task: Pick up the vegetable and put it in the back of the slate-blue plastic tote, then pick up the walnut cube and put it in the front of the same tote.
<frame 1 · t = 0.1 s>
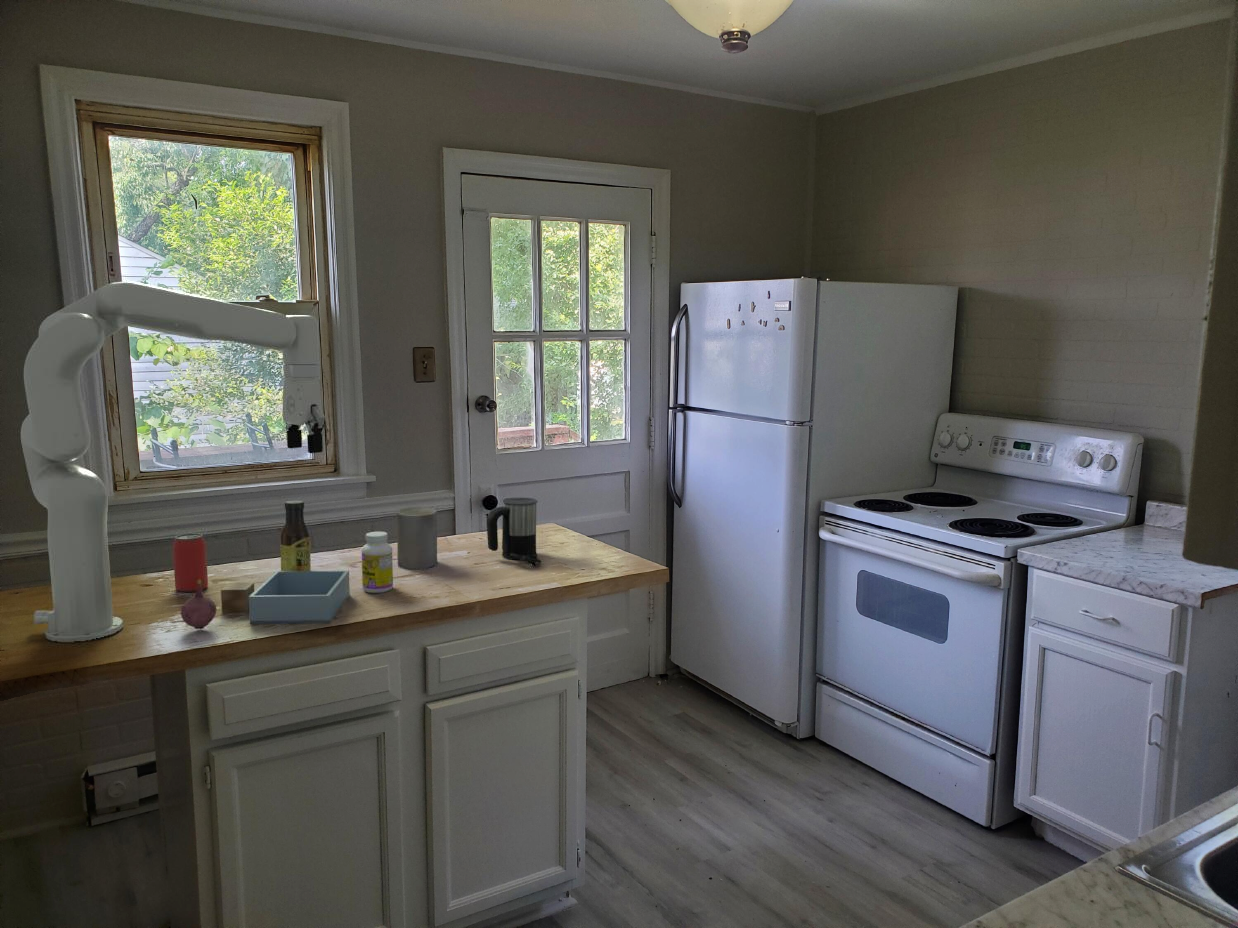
hand: (304, 450, 194), 31 cm above the worktop, tool pointing down, fingers open, 9 cm apart
pillar candle: (417, 565, 218), on the worktop
walnut cube: (238, 609, 182), on the worktop
beer can: (191, 589, 195), on the worktop
sauce bottle: (296, 589, 196), on the worktop
vegetable: (199, 631, 169), on the worktop
supplement bottle: (377, 590, 197), on the worktop
tote: (302, 608, 182), on the worktop
milk frother: (523, 560, 224), on the worktop
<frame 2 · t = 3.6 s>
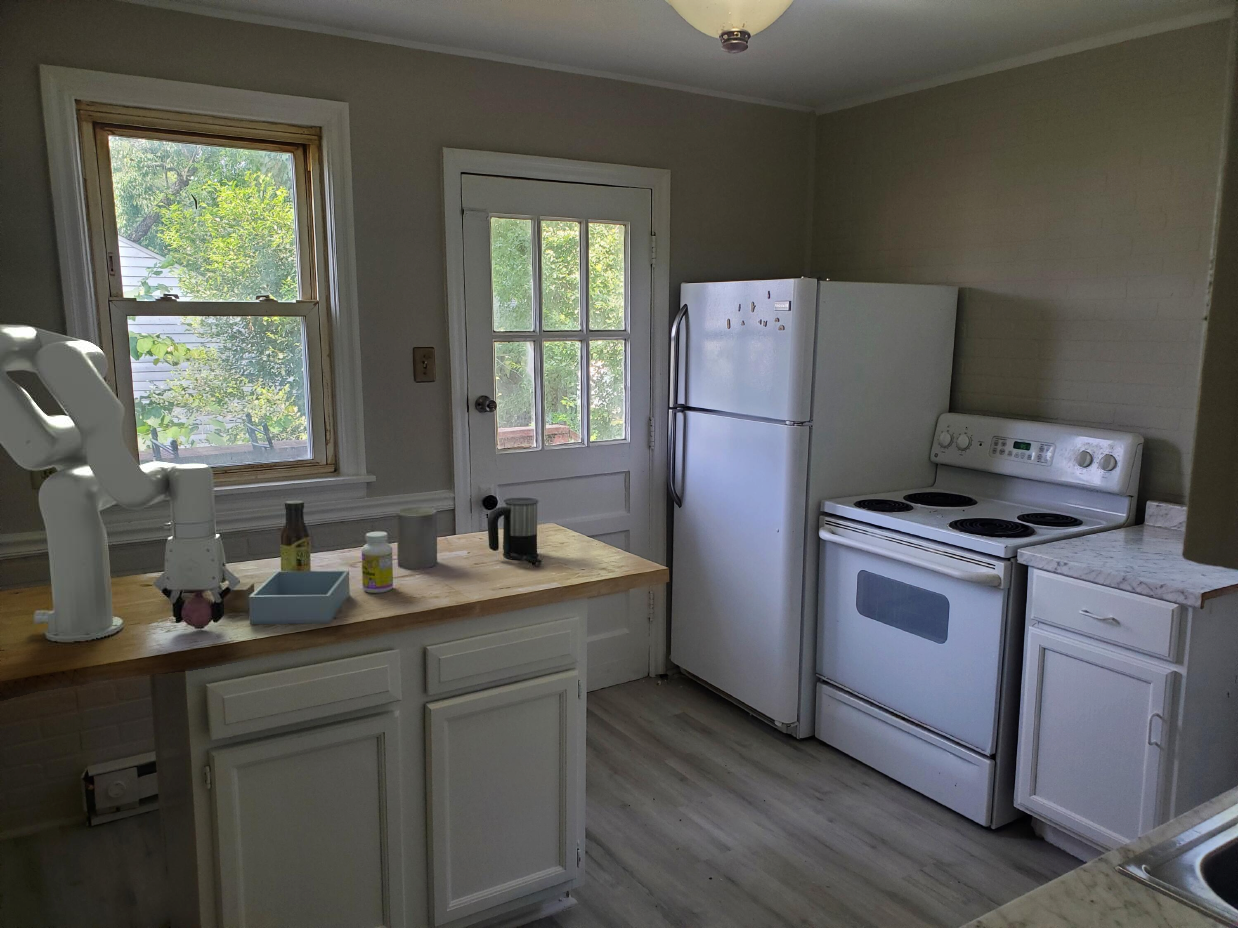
hand: (199, 619, 168), 2 cm above the worktop, tool pointing down, fingers closed on vegetable, 6 cm apart
vegetable: (200, 631, 169), on the worktop, touching gripper
everything else where it was.
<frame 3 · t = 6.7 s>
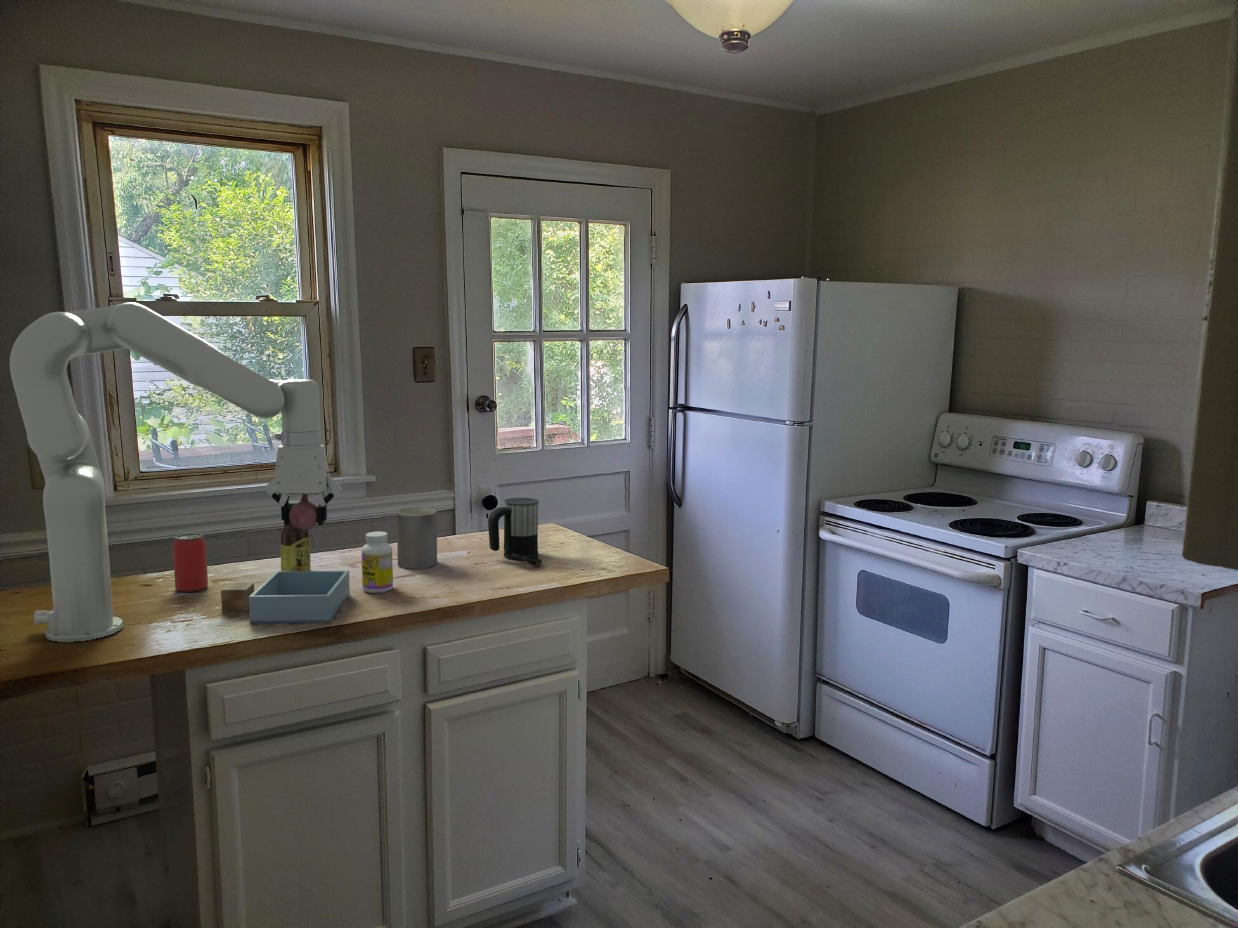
hand: (304, 523, 184), 17 cm above the worktop, tool pointing down, fingers closed on vegetable, 6 cm apart
vegetable: (305, 533, 184), point 15 cm above the worktop, touching gripper
everything else where it was.
when the fingers open (4 cm above the worktop, at t = 9.6 s): vegetable drops 1 cm, resting on tote.
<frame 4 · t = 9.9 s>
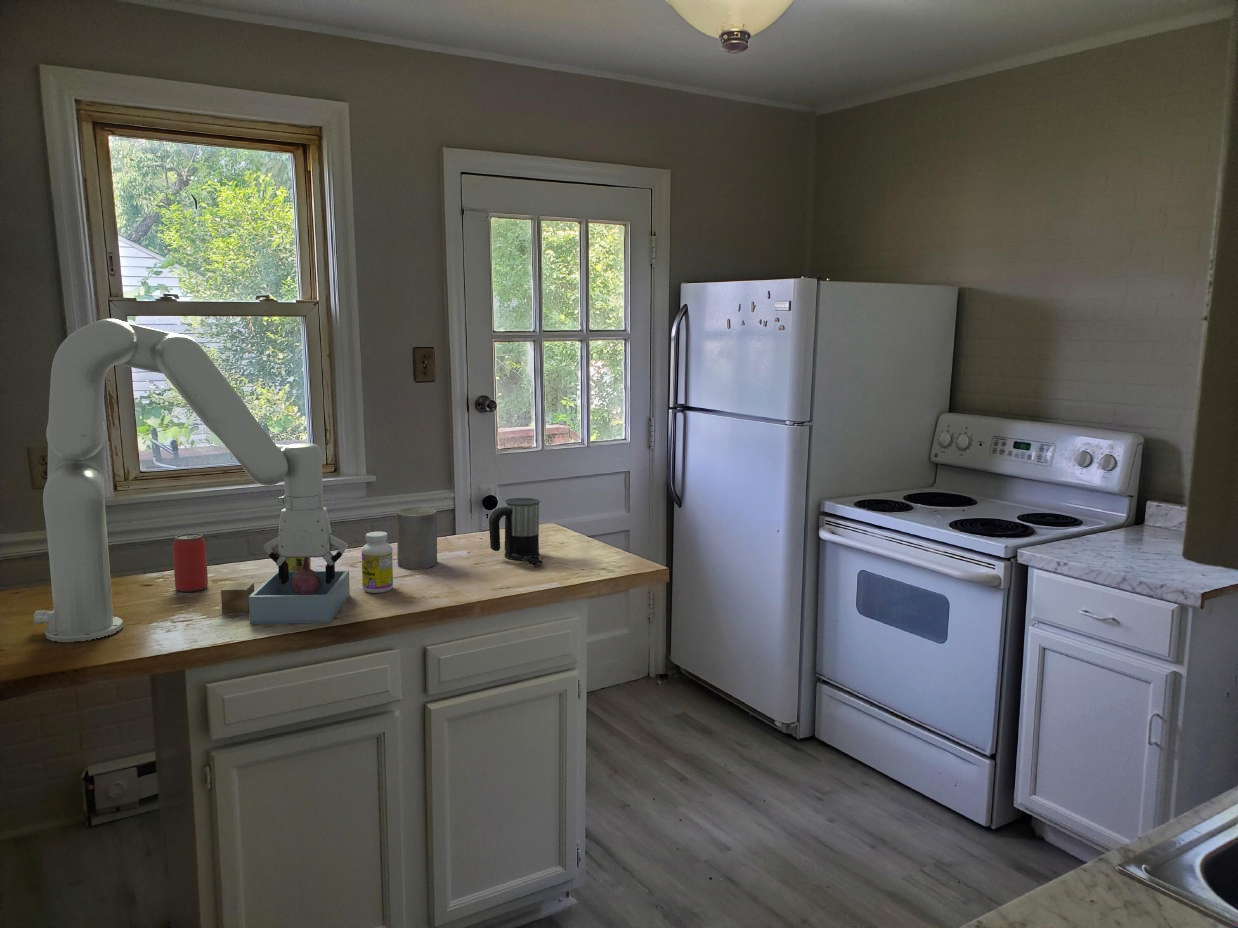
hand: (307, 582, 186), 4 cm above the worktop, tool pointing down, fingers open, 8 cm apart
vegetable: (306, 600, 187), resting on tote
everything else where it was.
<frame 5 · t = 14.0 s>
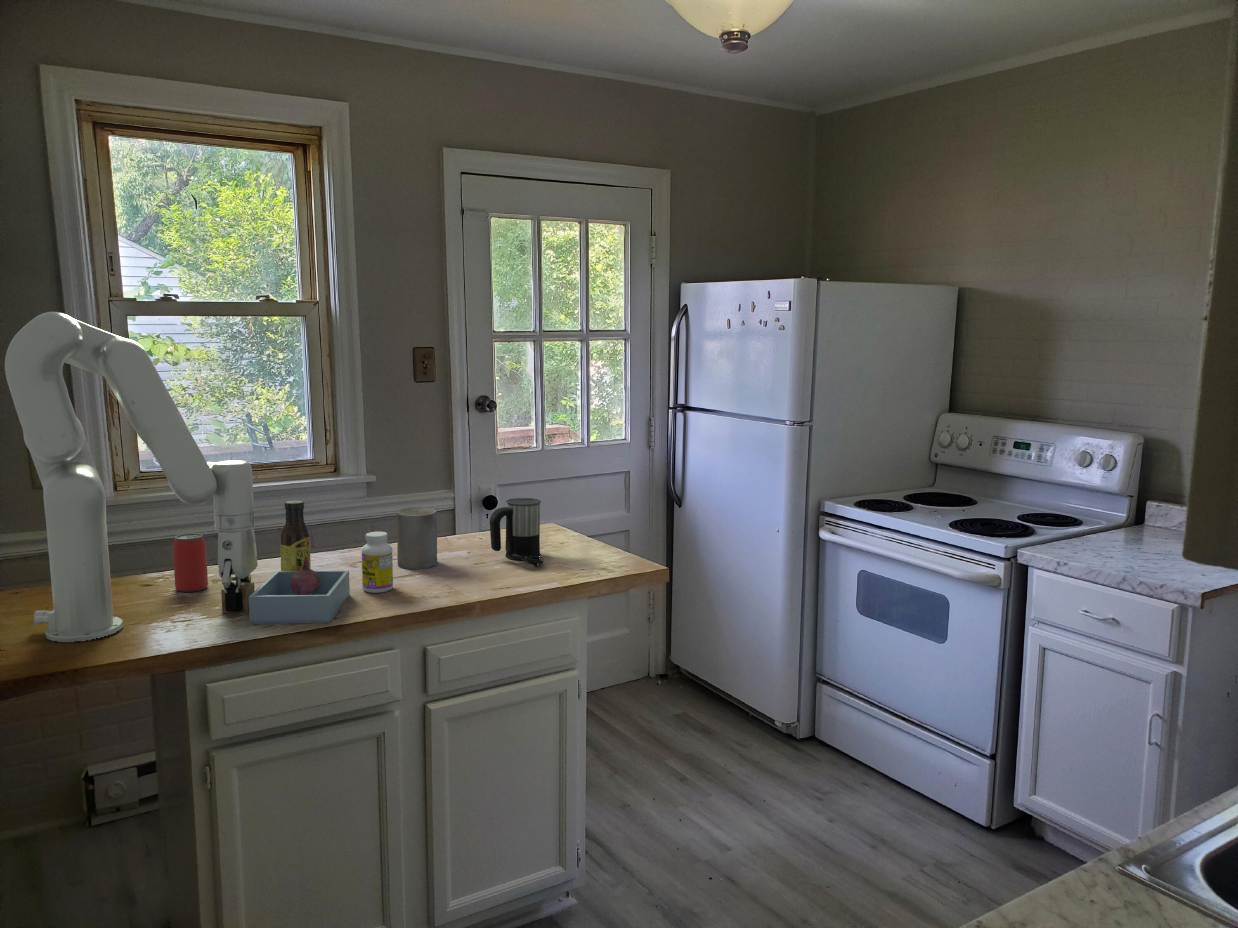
hand: (239, 605, 182), 1 cm above the worktop, tool pointing down, fingers closed on walnut cube, 5 cm apart
walnut cube: (239, 609, 182), on the worktop, touching gripper
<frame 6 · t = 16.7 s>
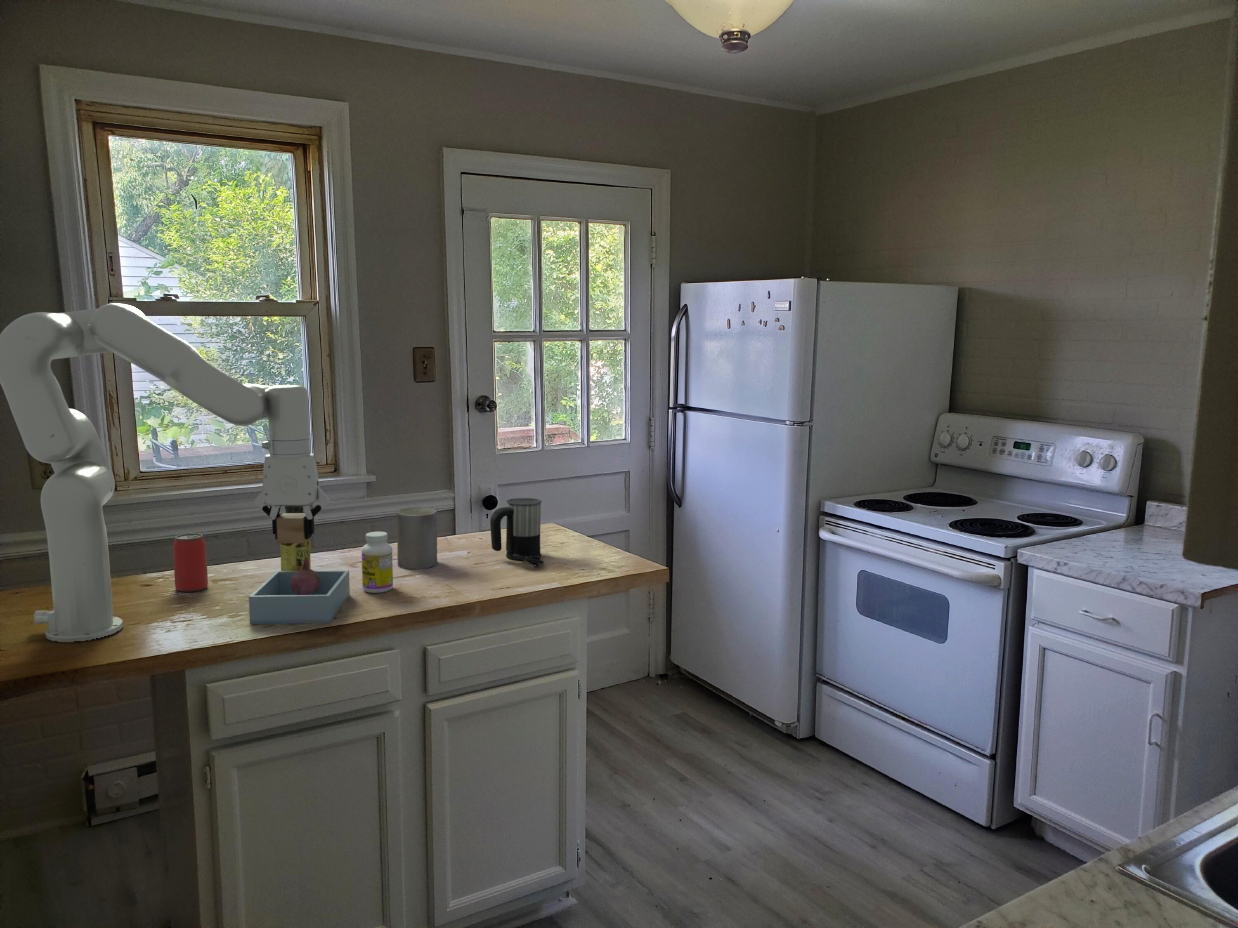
hand: (293, 536, 175), 16 cm above the worktop, tool pointing down, fingers closed on walnut cube, 5 cm apart
walnut cube: (294, 540, 176), point 16 cm above the worktop, touching gripper
when the fingers open (3 cm above the worktop, at t = 19.5 s): walnut cube drops 1 cm, resting on tote.
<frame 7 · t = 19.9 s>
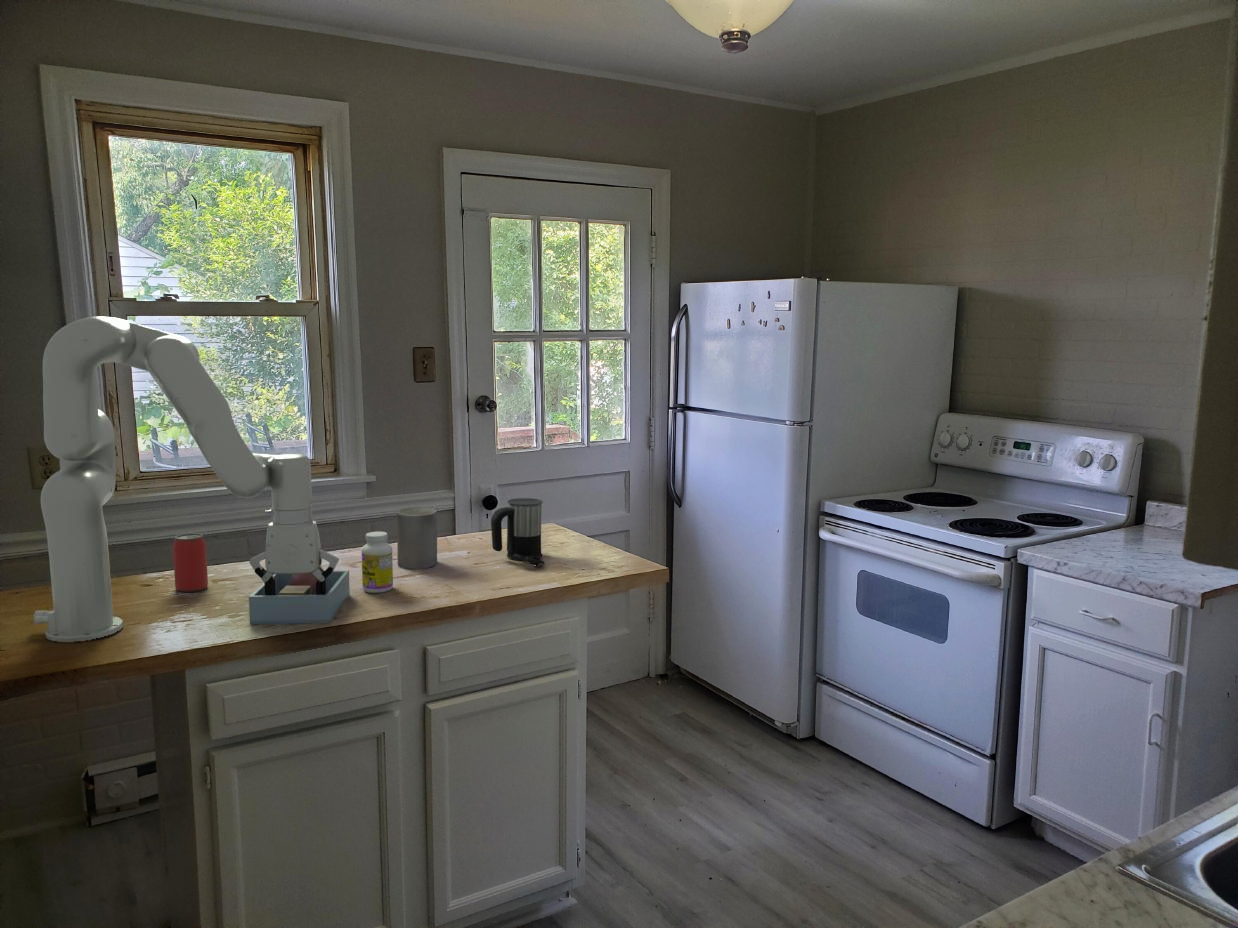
hand: (295, 598, 177), 4 cm above the worktop, tool pointing down, fingers open, 9 cm apart
walnut cube: (295, 612, 178), point 1 cm above the worktop, touching tote
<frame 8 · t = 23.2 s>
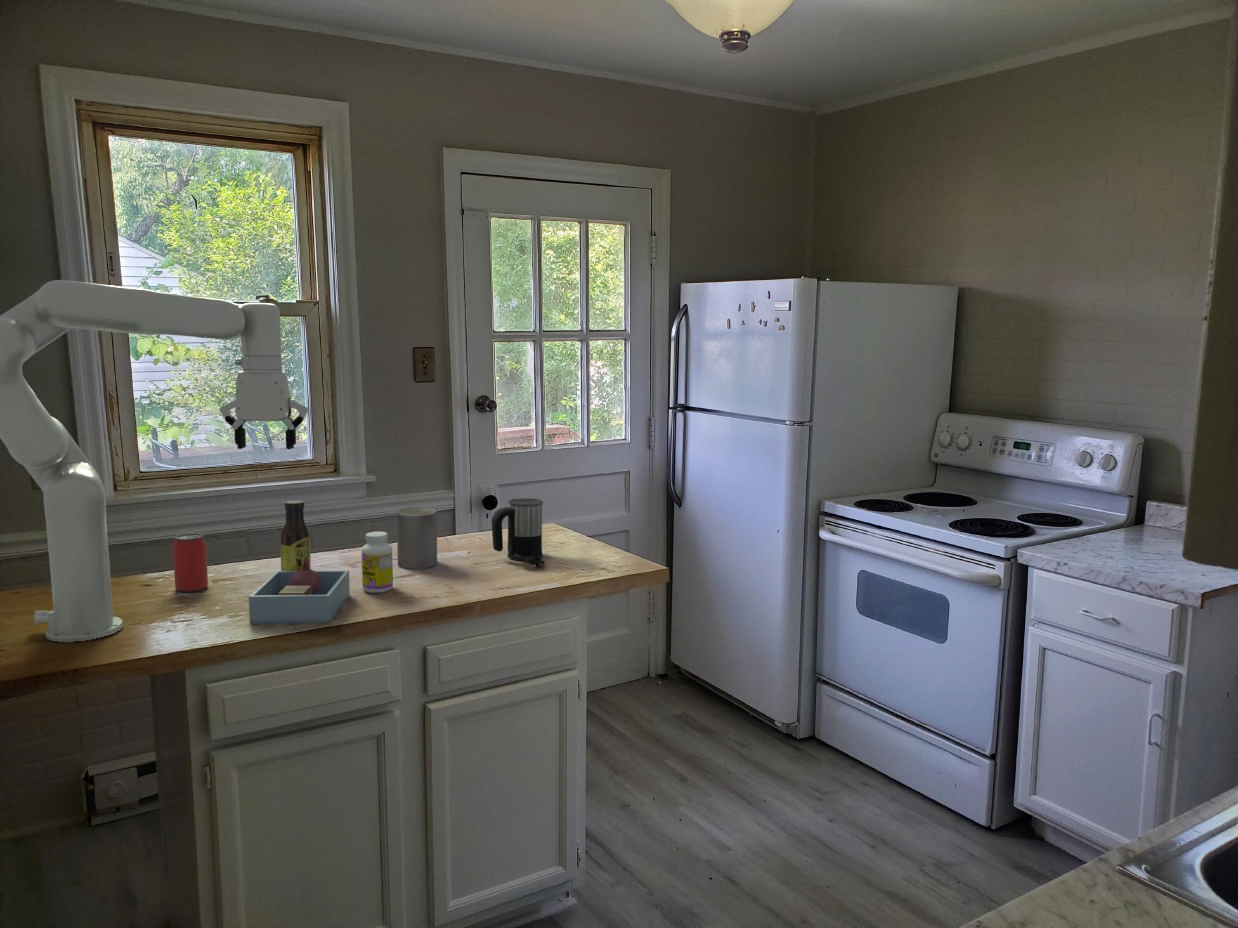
hand: (266, 448, 180), 33 cm above the worktop, tool pointing down, fingers open, 9 cm apart
at the end: vegetable inside the target area on the tote (4.3 cm from its centre), point 0.4 cm above the tote's base; walnut cube inside the target area on the tote (4.5 cm from its centre), point 0.6 cm above the tote's base; the gripper is holding nothing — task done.
